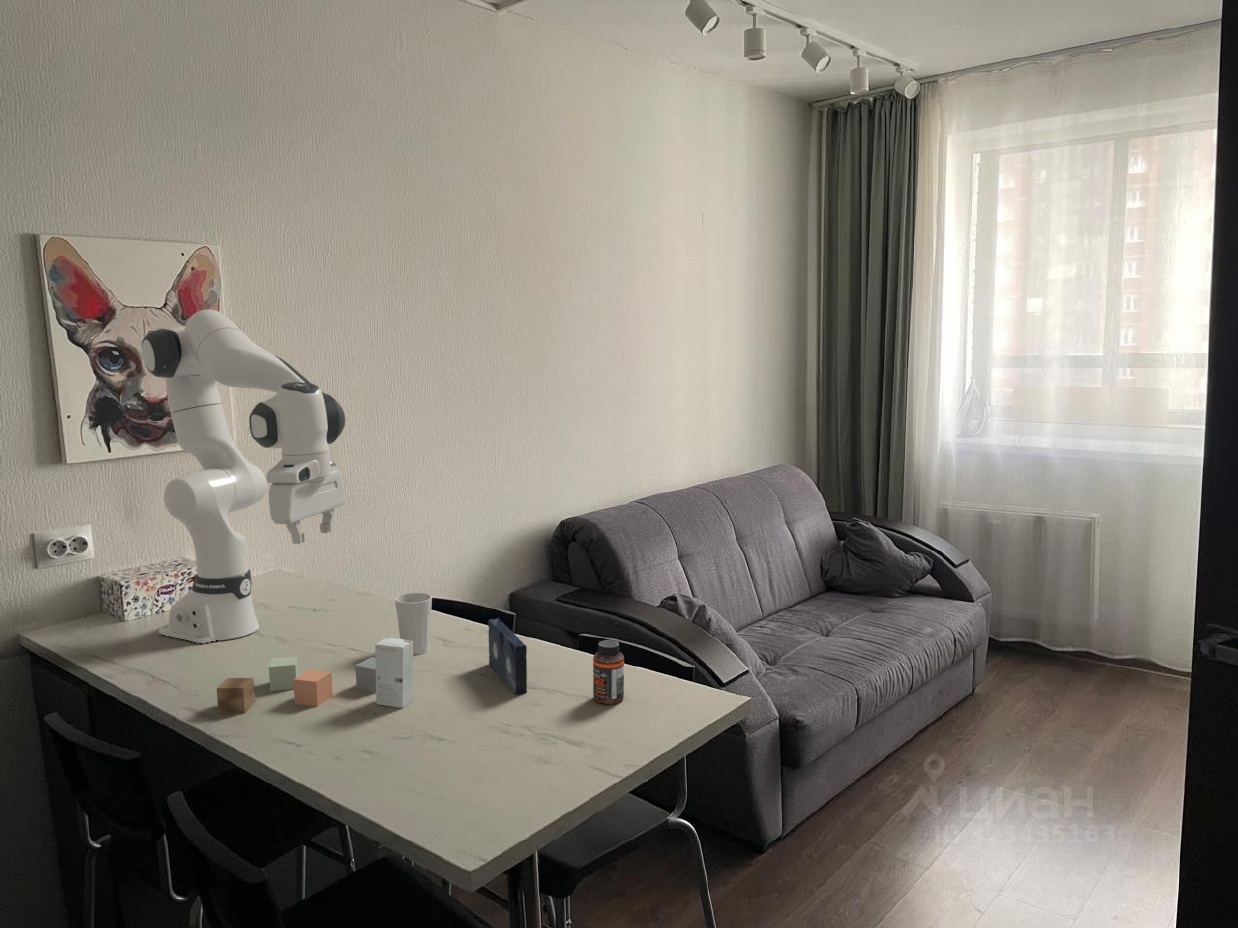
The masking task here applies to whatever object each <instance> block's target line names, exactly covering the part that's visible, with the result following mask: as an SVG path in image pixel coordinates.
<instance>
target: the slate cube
mask: <svg viewBox="0 0 1238 928" xmlns="http://www.w3.org/2000/svg"><path fill="white" fill-rule="evenodd" d="M355 680H356V681H355V682H356V686H355V687H356V690H359V691H364V692H365V691H366V692H370V693H374V694H376V657H373V656H372V657H369V658H367V659H365V660H364V661H361V662H359V663H358V664H355Z"/></svg>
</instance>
